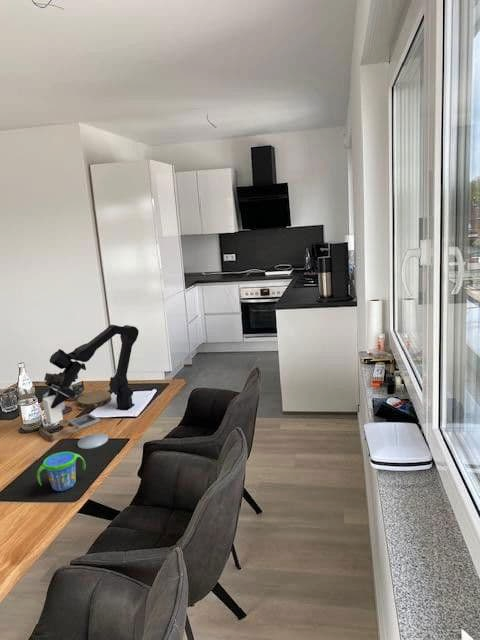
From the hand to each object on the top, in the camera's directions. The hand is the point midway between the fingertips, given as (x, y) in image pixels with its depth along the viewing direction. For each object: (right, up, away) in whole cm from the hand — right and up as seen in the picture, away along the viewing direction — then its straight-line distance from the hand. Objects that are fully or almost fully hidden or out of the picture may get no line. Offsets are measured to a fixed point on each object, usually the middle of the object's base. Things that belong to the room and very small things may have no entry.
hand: (48, 406), depth 204 cm
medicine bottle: (-6, -3, +50) cm, 50 cm away
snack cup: (+20, -20, -38) cm, 48 cm away
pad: (+21, -13, -7) cm, 25 cm away
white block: (+2, -6, +2) cm, 7 cm away
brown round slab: (+8, -5, +37) cm, 38 cm away
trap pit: (+11, -10, +12) cm, 19 cm away
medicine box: (-9, -7, +30) cm, 32 cm away
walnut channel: (+2, -12, +4) cm, 13 cm away
